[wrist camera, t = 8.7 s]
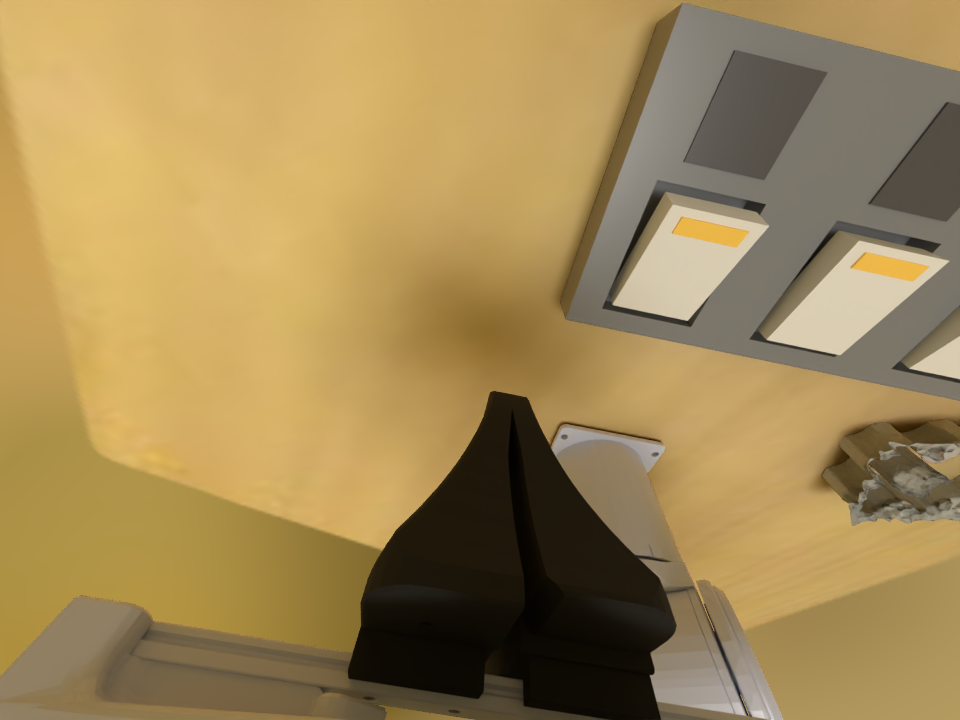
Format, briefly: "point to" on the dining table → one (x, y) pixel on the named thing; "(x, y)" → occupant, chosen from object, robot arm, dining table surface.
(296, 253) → the dining table surface
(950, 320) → the rocker carton end
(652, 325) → the grey rocker switch panel
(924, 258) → the rocker middle
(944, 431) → the egg carton
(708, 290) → the labelled cream tile
